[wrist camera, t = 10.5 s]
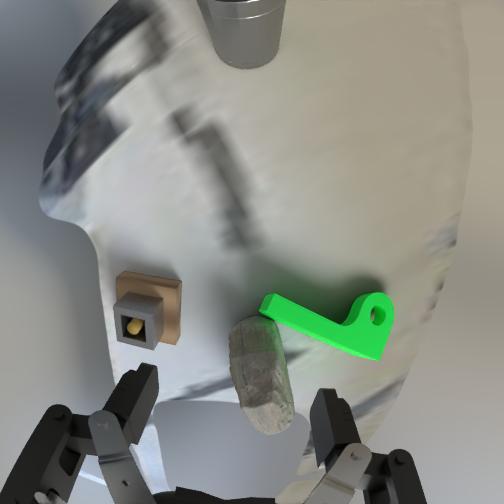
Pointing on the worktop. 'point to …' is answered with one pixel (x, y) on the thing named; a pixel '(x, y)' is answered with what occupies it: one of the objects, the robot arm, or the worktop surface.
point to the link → (141, 309)
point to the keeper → (154, 288)
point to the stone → (261, 374)
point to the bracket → (339, 335)
